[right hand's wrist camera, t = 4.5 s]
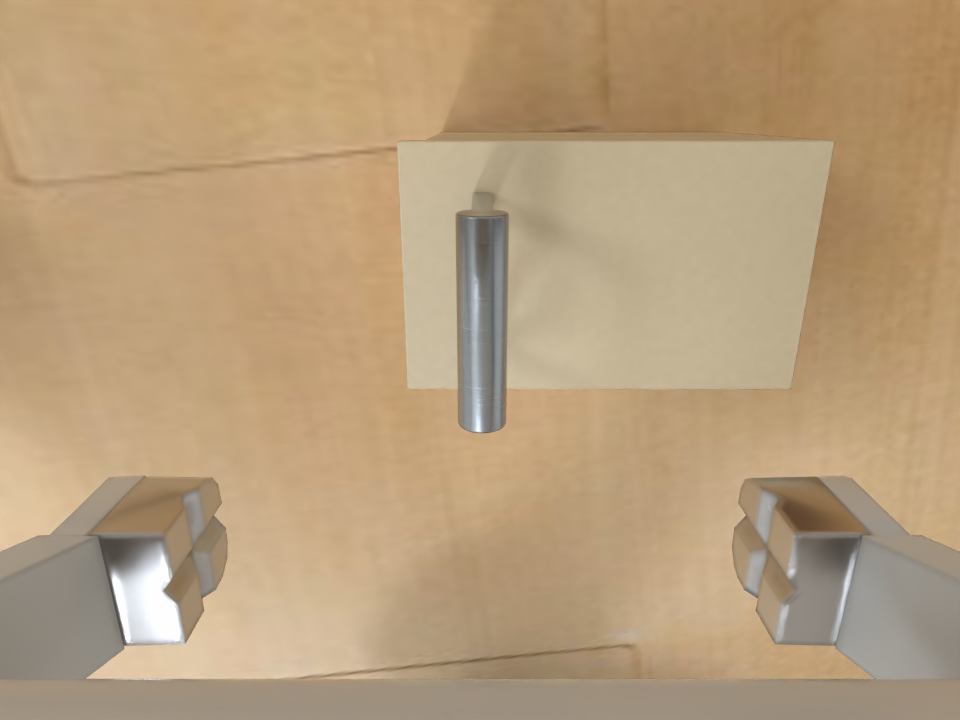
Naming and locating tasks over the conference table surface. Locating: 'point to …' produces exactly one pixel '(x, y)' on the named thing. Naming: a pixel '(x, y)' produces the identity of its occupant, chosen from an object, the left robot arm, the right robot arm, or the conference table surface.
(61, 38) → the conference table surface
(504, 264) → the lid
